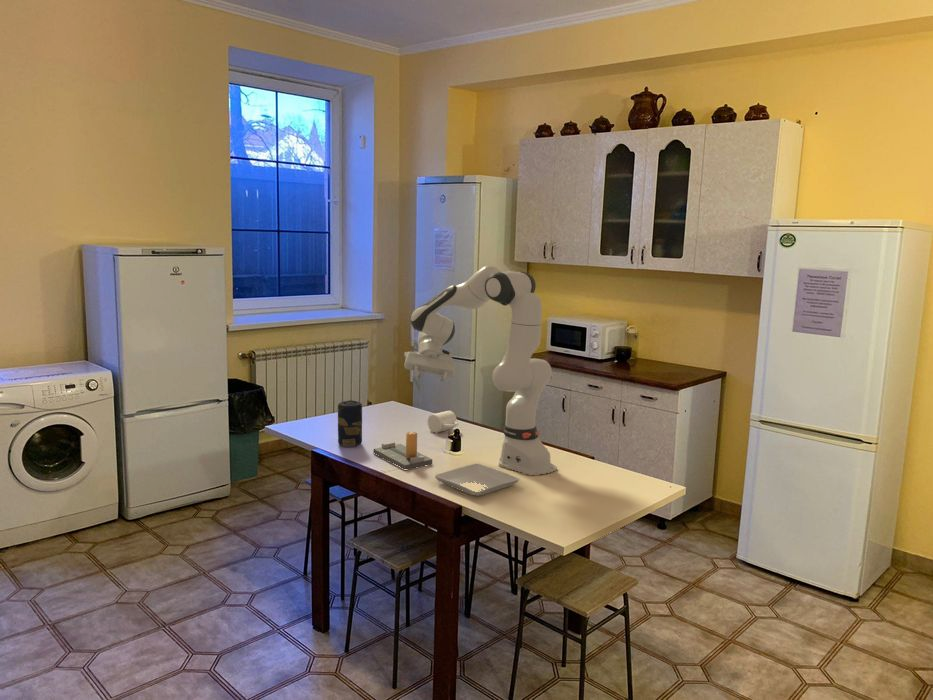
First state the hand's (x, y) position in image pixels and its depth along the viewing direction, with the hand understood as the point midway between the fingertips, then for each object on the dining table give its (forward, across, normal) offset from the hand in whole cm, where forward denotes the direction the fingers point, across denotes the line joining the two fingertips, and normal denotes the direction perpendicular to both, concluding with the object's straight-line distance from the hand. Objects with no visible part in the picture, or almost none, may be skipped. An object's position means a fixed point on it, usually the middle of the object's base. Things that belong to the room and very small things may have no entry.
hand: (430, 378), depth 273 cm
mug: (-8, +16, +35) cm, 39 cm away
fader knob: (+27, -4, +16) cm, 32 cm away
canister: (+8, -24, +34) cm, 43 cm away
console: (+24, -6, +21) cm, 32 cm away
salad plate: (+48, +15, +4) cm, 50 cm away
